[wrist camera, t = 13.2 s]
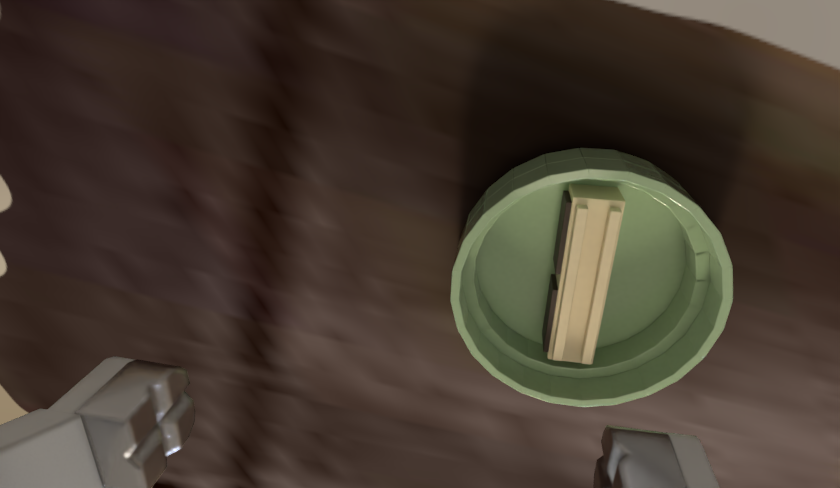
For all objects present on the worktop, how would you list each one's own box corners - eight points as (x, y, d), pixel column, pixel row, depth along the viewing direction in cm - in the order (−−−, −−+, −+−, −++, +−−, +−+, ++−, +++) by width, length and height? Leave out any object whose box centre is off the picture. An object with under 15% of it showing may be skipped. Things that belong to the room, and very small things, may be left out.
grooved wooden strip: (564, 182, 36) (568, 200, 33) (618, 187, 36) (628, 205, 33) (540, 336, 42) (542, 364, 38) (588, 342, 41) (593, 370, 38)
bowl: (466, 137, 37) (458, 158, 32) (734, 155, 34) (771, 181, 29) (452, 345, 44) (444, 389, 39) (673, 372, 42) (694, 422, 37)
